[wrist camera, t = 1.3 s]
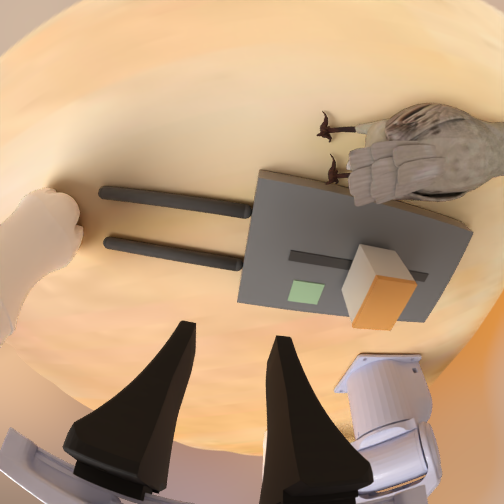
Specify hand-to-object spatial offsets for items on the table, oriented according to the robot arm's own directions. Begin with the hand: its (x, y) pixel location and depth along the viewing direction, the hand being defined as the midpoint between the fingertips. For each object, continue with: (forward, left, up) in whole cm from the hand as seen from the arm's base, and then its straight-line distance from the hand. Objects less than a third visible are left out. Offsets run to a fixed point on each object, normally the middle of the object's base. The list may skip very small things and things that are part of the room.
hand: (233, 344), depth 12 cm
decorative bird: (-11, -10, -11) cm, 19 cm away
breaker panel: (-9, 0, -10) cm, 14 cm away
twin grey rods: (+6, 0, -10) cm, 12 cm away
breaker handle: (-9, 0, -8) cm, 12 cm away
